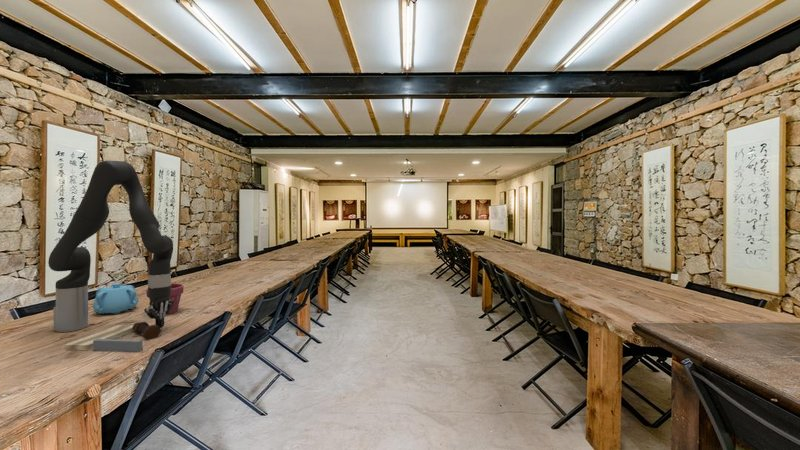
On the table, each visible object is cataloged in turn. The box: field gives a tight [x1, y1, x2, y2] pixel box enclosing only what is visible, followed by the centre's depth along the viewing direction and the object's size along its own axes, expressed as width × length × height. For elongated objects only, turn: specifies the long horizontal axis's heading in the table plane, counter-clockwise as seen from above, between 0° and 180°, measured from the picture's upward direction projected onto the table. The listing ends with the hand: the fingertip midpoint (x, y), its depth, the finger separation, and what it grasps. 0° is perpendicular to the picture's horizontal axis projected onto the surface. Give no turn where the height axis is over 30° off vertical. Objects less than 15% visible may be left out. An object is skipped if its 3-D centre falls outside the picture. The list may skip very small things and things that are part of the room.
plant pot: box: [146, 283, 184, 315], centre depth 152 cm, size 14×14×13 cm
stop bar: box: [92, 338, 144, 353], centre depth 110 cm, size 16×2×4 cm, turn 89°
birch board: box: [64, 324, 135, 351], centre depth 119 cm, size 8×20×2 cm, turn 179°
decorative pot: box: [92, 282, 139, 315], centre depth 154 cm, size 16×16×14 cm
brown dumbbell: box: [132, 321, 162, 341], centre depth 125 cm, size 6×5×15 cm
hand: (159, 327), depth 128 cm, fingers closed
